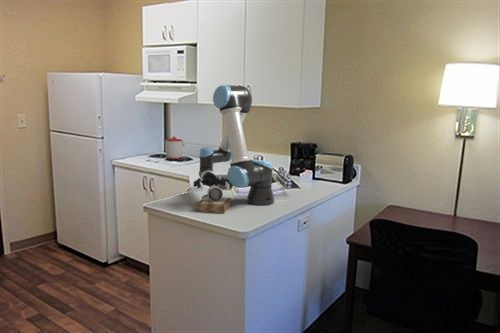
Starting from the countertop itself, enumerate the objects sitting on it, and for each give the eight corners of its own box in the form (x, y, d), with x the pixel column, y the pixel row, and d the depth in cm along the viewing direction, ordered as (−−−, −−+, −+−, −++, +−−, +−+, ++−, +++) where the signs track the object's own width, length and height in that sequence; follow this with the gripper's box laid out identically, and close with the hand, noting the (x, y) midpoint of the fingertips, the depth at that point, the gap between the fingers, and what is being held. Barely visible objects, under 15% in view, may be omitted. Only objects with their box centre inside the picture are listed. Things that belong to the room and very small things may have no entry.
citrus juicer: (186, 160, 355) (186, 137, 351) (166, 161, 350) (165, 137, 346) (183, 157, 370) (183, 135, 366) (163, 158, 364) (163, 135, 361)
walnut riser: (230, 205, 219) (231, 197, 218) (224, 213, 204) (224, 205, 204) (205, 203, 221) (205, 195, 221) (197, 211, 207) (197, 203, 206)
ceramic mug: (221, 197, 217) (221, 183, 216) (222, 202, 209) (222, 187, 208) (200, 198, 215) (200, 184, 214) (201, 202, 207) (201, 187, 206)
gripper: (230, 184, 232) (239, 193, 212) (186, 185, 226) (190, 195, 205) (231, 171, 231) (239, 179, 210) (186, 172, 224) (190, 180, 204)
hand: (215, 187), depth 208 cm, fingers open, 13 cm apart
